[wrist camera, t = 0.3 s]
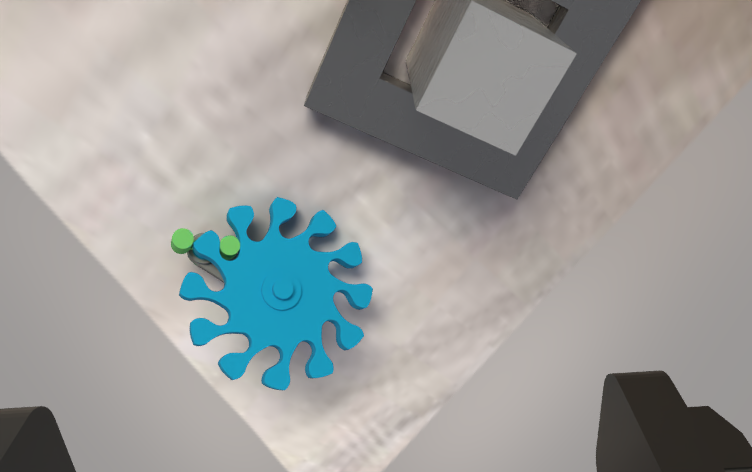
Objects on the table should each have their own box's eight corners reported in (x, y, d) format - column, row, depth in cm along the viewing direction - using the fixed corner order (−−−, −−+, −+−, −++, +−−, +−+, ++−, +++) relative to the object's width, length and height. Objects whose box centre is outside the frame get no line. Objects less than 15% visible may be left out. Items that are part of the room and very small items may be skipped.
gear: (408, 263, 37) (314, 428, 33) (372, 281, 42) (288, 425, 39) (237, 145, 35) (118, 305, 32) (223, 180, 41) (120, 320, 37)
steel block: (448, -28, 31) (471, 0, 24) (531, 14, 32) (577, 53, 25) (405, 60, 33) (416, 110, 26) (485, 97, 34) (515, 155, 27)
